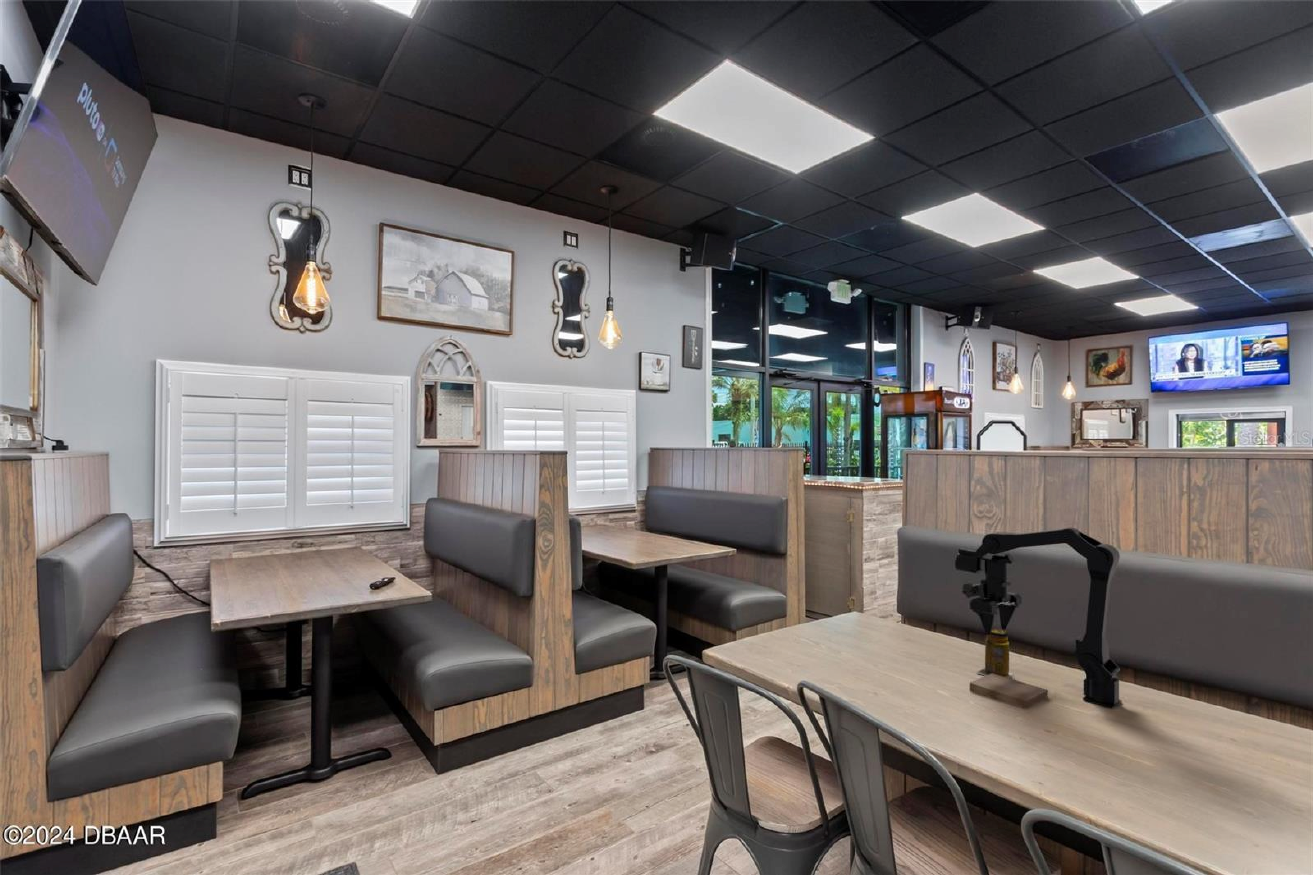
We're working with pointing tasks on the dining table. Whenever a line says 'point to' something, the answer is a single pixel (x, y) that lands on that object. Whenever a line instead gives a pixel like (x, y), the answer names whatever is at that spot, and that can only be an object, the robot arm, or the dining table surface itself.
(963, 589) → the robot arm
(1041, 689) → the stand
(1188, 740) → the dining table surface
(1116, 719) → the dining table surface
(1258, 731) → the dining table surface
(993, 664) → the condiment
